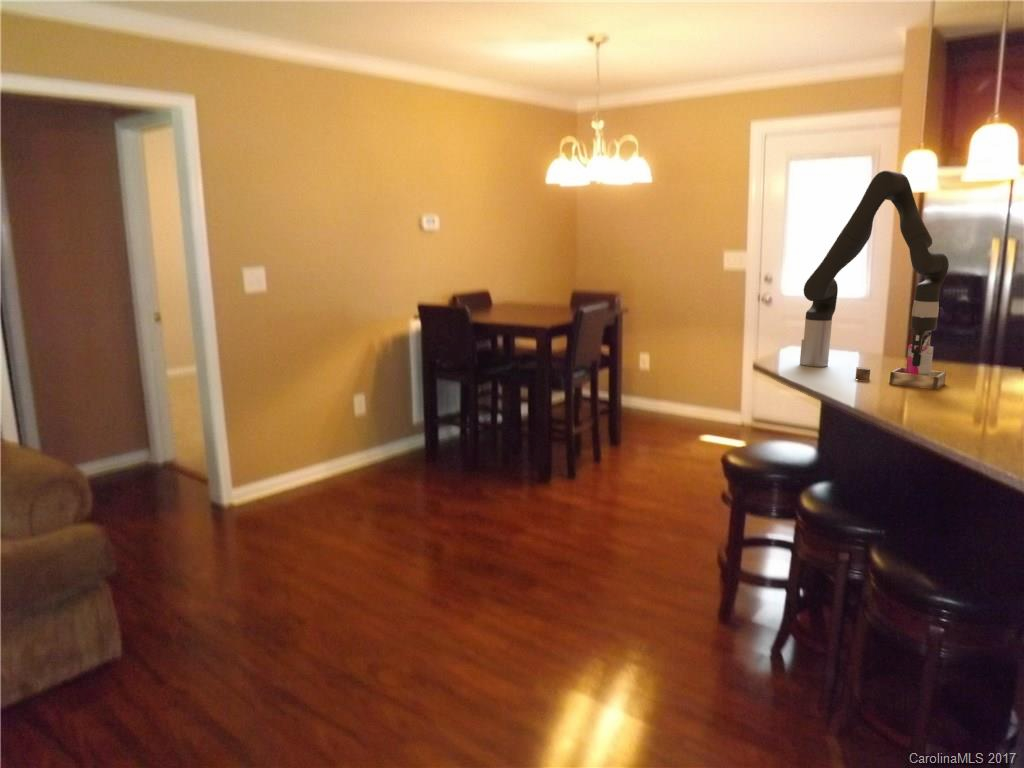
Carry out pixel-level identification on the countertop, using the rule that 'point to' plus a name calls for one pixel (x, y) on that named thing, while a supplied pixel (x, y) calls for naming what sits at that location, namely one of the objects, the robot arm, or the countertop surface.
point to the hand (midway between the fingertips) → (919, 364)
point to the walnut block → (862, 373)
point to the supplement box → (924, 363)
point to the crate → (917, 379)
